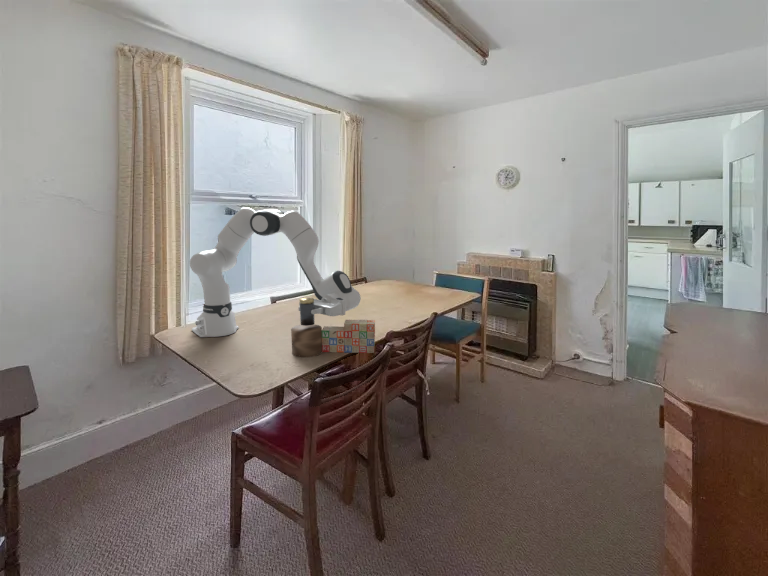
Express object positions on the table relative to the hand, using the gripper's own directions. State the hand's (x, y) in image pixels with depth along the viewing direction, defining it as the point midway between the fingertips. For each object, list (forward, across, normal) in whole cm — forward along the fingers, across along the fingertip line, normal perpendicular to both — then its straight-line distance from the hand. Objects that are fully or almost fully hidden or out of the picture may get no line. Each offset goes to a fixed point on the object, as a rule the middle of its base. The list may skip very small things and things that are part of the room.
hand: (305, 310), depth 151 cm
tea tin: (-1, 0, +6) cm, 6 cm away
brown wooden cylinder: (-1, 0, +17) cm, 17 cm away
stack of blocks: (-13, +11, +18) cm, 25 cm away
